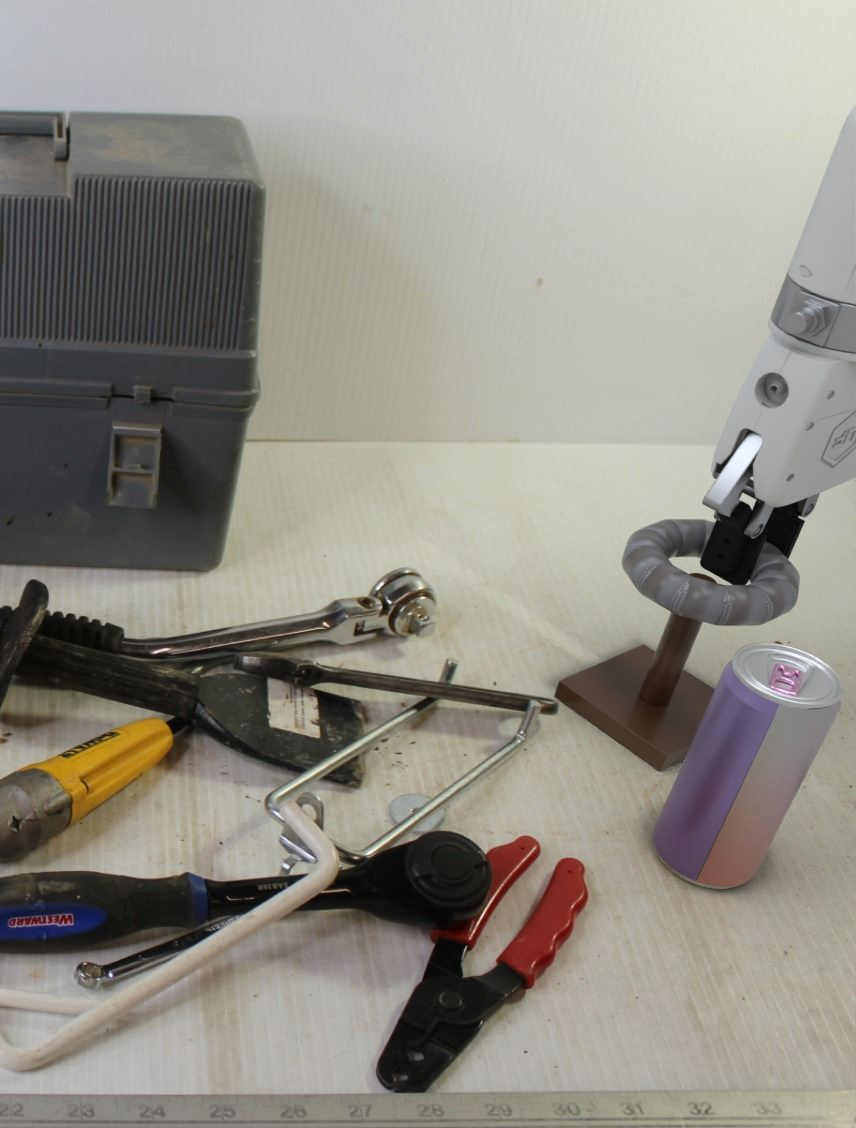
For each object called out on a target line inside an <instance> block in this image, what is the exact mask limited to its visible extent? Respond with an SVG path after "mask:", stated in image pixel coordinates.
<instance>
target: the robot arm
mask: <svg viewBox="0 0 856 1128" xmlns="http://www.w3.org/2000/svg"><path fill="white" fill-rule="evenodd" d="M767 327H768V330H769V331H770V332H771V333H770V334H768V336H767V338H766V340H764V343H763V344H762V346H761V348H760V350H759V352H758V354H757V356H756V358H755V360H754V361H753V364H752V366H751V368H750V369H749V371H748V373H747V375H746V377H745V379H744V382H743V384H742V386H741V388H740V390H739V392H738V395H737V396H736V399H735V401H734V403H733V405H732V407H731V410H730V412H729V415H728V417H727V419H726V422H725V424H724V426H723V429H722V431H721V434H720V437H719V439H718V442H717V445H716V448H715V451H714V454H713V458H712V462H711V466H710V471H711V475H712V478H713V479H715V480H714V482H713V483H712V485H711V486H710V487H709V489H708V490H707V492H706V494H705V495H704V496H703V498H702V500H701V504H702V505H703V506H705V507H707V508H709V509H711V510H713V511H714V514H713V518H714V520H715V521H714V522H715V524H714V527H713V529H712V532H711V535H710V537H709V540H708V542H707V545H706V547H705V550H704V552H703V555H702V557H701V558H700V560H699V565H700V567H701V568H702V569H704V570H706V571H708V572H709V573H711V574H713V575H714V576H716V577H718V578H720V579H722V580H723V581H725V582H727V583H728V584H729V585H748V583H749V582H750V581H749V578H750V576H751V574H752V571H753V569H754V567H755V564H756V562H757V559H758V557H759V555H760V552H761V550H762V548H763V545H764V543H765V541H767V542H769V543H770V544H772V545H774V546H776V547H777V548H778V549H779V550H780V551H781V552H782V553H783V554H784V555H785V557H786V558H787V559H788V560H790V556H791V555H792V552H793V550H794V548H795V545H796V543H797V540H798V539H799V536H800V534H801V532H802V529H803V527H804V525H805V523H806V520H804V519H805V518H807V517H809V516H810V515H811V514H812V513H813V511H814V510H815V508H816V505H817V503H818V500H819V497H820V494H821V493H823V492H826V491H828V490H830V489H833V488H835V487H837V486H840V485H842V484H844V483H846V482H849V481H851V480H853V479H855V478H856V104H855V105H854V107H853V108H851V110H850V111H849V113H848V114H847V116H846V118H845V120H844V122H843V124H842V127H841V130H840V132H839V135H838V136H837V140H836V142H835V145H834V147H833V150H832V153H831V155H830V157H829V160H828V163H827V166H826V169H825V171H824V174H823V176H822V179H821V181H820V185H819V187H818V189H817V192H816V195H815V197H814V201H813V203H812V206H811V208H810V210H809V214H808V216H807V219H806V222H805V223H804V226H803V229H802V232H801V234H800V237H799V240H798V242H797V245H796V248H795V250H794V253H793V255H792V258H791V261H790V263H789V265H788V268H787V272H786V274H785V277H784V280H783V282H782V285H781V287H780V290H779V293H778V295H777V298H776V300H775V303H774V306H773V309H772V311H771V314H770V316H769V319H768V321H767ZM751 478H752V479H751ZM743 494H744V495H746V496H748V497H750V498H752V499H754V500H755V502H754V504H753V507H751V505H750V504H748V503H747V502H744V501H743V500H741V497H742V495H743Z"/></svg>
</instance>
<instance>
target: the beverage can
mask: <svg viewBox="0 0 856 1128" xmlns="http://www.w3.org/2000/svg"><path fill="white" fill-rule="evenodd" d="M714 689H715V691H714V693H713V695H712V698H711V700H710V702H709V704H708V707H707V709H706V711H705V713H704V716H703V718H702V720H701V723H700V725H699V727H698V729H697V732H696V734H695V736H694V739H693V741H692V743H691V745H690V748H689V750H688V752H687V754H686V757H685V759H684V760H682V764H681V765H680V768H679V770H678V772H677V775H676V777H675V780H674V781H673V784H672V786H671V789H670V791H669V794H668V795H667V798H666V800H665V803H664V804H663V807H662V809H661V811H660V814H659V816H658V818H657V821H656V822H655V825H654V827H653V829H652V834H651V838H652V840H651V841H652V845H653V847H654V850H655V853H656V855H657V856H658V858H659V860H660V862H662V864H663V865H664V866H665V867H666V868H667V870H669V871H670V872H672V873H673V874H674V875H675V876H677V877H679V878H680V879H682V880H684V881H685V882H688V883H690V884H693V885H695V886H698V887H702V888H706V889H711V890H726V889H732V888H735V887H739V886H742V885H744V884H746V883H747V882H749V881H751V880H752V879H753V878H754V876H755V875H756V873H757V871H758V869H759V867H760V865H761V863H762V861H763V859H764V857H765V856H766V854H767V852H768V850H769V848H770V846H771V844H772V842H773V840H774V838H775V836H776V834H777V832H778V830H779V828H780V827H781V824H782V823H783V821H784V819H785V817H786V815H787V813H788V811H789V809H790V807H791V806H792V804H793V801H794V799H795V797H796V796H797V794H798V792H799V789H800V788H801V786H802V784H803V782H804V780H805V779H806V776H807V774H808V772H809V770H810V769H811V766H812V764H813V763H814V761H815V759H816V757H817V755H818V753H819V752H820V749H821V748H822V746H823V743H824V741H825V739H826V737H827V735H828V733H830V730H831V728H832V726H833V724H834V722H835V720H836V718H837V716H838V714H839V712H840V710H841V707H842V706H841V705H842V698H843V695H844V693H845V684H844V681H843V679H842V677H841V676H840V674H839V673H838V672H837V671H836V670H835V669H834V668H833V667H832V666H831V665H829V664H828V663H827V662H826V661H824V660H823V659H821V658H819V657H817V656H816V655H814V654H812V653H810V652H808V651H805V650H803V649H799V648H796V647H793V646H789V645H786V644H780V643H774V642H773V643H772V642H756V643H750V644H747V645H744V646H742V647H741V648H739V649H738V650H737V651H736V652H735V653H734V654H733V656H732V659H731V660H730V661H729V662H728V663H727V664H726V665H725V667H724V668H723V670H722V672H721V675H720V677H719V679H718V681H717V684H716V687H715V688H714Z"/></svg>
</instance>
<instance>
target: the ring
mask: <svg viewBox="0 0 856 1128" xmlns="http://www.w3.org/2000/svg"><path fill="white" fill-rule="evenodd" d="M715 522H716V521H713V520H708V519H701V518H667V519H662V520H659V521H656V522H653V523H651V524H649V525H645V526H644V527H642V528H641V527H640V528H639V529H637V530H634V532H633V533H632V534H631V535H630V536H629V537H628V540H627V542H626V544H625V548H624V550H623V554H622V558H621V566H622V569H623V572H624V573H625V574H626V576H627V577H628V579H629V580H630V581H631V583H632V584H633V586H634V587H635V589H636V590H637V592H638V593H639V594H641V595H642V596H643V597H645V598H646V599H648V600H650V601H651V602H653V603H655V604H657V605H659V606H660V607H662V608H664V609H665V610H667V611H668V612H670V613H671V612H672V613H674V614H676V615H680V616H683V617H687V618H690V619H694V620H698V621H701V622H703V623H705V624H709V625H712V626H717V627H721V626H722V627H754V626H755V627H756V626H761V625H762V626H763V625H764V624H767V623H769V622H771V621H773V620H775V619H778V618H779V617H781V616H783V615H785V614H787V613H789V612H791V610H793V609H794V607H795V606H796V605H797V602H798V598H799V591H800V585H801V584H800V583H801V577H800V573H799V570H798V569H797V568H796V567H795V565H794V564H793V563H792V562H791V561H790V559H787V558H786V557H785V555H784V554H783V553H782V552H781V551H780V550H779V549H778V548H777V547H776V546H774V545H772V544H770V543H769V542H767V541H765V543H764V545H763V548H762V550H761V552H760V555H759V557H758V559H757V562H756V564H755V567H754V569H753V571H752V574H751V576H750V578H749V581H748V582H749V584H746V585H732V584H722V583H718V582H717V583H715V582H711V581H707V580H703V579H699V578H696V577H693V576H691V575H690V573H688V572H686V571H684V570H683V569H681V568H679V567H677V566H676V565H674V564H673V563H672V562H671V560H669V559H672V558H697V559H701V557H702V555H703V552H704V550H705V547H706V545H707V542H708V540H709V537H710V535H711V532H712V529H713V527H714V524H715Z"/></svg>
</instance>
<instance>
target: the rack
mask: <svg viewBox="0 0 856 1128" xmlns="http://www.w3.org/2000/svg"><path fill="white" fill-rule="evenodd" d="M689 574H690V575H691V576H693V577H696V578H699V579H703V580H707V581H711V582H715V583H718V582H717V580H716V579H714V578H713V577H712V576H710V575H707V574H704V573H701V572H690V573H689ZM703 623H704V622H701V621H698V620H694V619H690V618H687V617H683V616H680V615H676V614H674V613H672V612H670V614H669V617H668V618H667V622H666V624H665V627H664V629H663V632H662V633H661V637H660V639H659V641H658V644H657V647H656V649H653V648H651V647H649V646H647V645H646V644H645V643H644V644H641V645H639V646H637V647H634V648H632V649H629V650H627V651H624V652H622V653H620V654H618V655H616V656H614V657H611V658H609V659H606V660H603V661H601V662H599V663H597V664H595V665H591V666H590V667H588V668H585V669H582V670H580V671H578V672H576V673H574V674H571V675H568V676H566V677H565V678H562V679H560V680H558V683H557V686H556V689H555V692H554V695H553V697H554V698H556V699H557V700H558V701H560V702H561V703H563V704H564V705H565V706H566V707H568V708H570V709H571V710H572V711H573V712H574V713H576V714H578V715H579V716H581V717H582V718H584V719H585V720H587V721H588V722H589V723H590V724H592V725H593V726H595V727H596V728H598V729H599V730H600V731H602V733H605V734H606V735H607V736H609V737H611V738H612V739H613V740H614V741H616V742H617V743H619V744H620V745H622V746H623V747H624V748H626V749H627V750H628V751H630V752H631V753H633V754H634V755H636V756H637V757H638V758H640V759H641V760H643V761H644V762H646V763H647V764H648V765H650V766H651V767H652V768H654V769H655V770H656V771H658V772H661V771H664V770H666V769H668V768H670V767H672V766H674V765H676V764H679V763H680V762H683V761H684V759H685V757H686V754H687V752H688V750H689V748H690V745H691V743H692V741H693V739H694V736H695V734H696V732H697V729H698V727H699V725H700V723H701V720H702V718H703V716H704V713H705V711H706V709H707V707H708V704H709V702H710V700H711V698H712V695H713V693H714V691H715V688H713V687H712V686H710V685H709V684H707V683H705V681H702V680H701V679H700V678H698V677H696V676H695V675H693V674H691V673H690V672H688V671H687V670H685V669H684V668H685V666H686V664H687V662H688V659H689V657H690V654H691V652H692V650H693V647H694V645H695V642H696V640H697V637H698V635H699V633H700V630H701V628H702V625H703Z"/></svg>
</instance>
